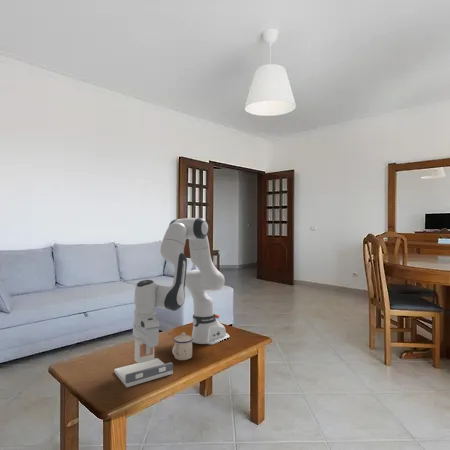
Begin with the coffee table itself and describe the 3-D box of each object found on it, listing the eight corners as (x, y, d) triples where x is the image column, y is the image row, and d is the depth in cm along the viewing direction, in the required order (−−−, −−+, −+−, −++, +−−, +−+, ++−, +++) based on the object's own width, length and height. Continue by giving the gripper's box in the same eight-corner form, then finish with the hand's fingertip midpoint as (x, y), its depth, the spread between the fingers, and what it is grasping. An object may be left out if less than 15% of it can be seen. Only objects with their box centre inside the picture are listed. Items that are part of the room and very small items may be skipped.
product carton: (150, 356, 139) (150, 335, 139) (154, 359, 135) (154, 338, 135) (134, 359, 135) (134, 338, 135) (138, 363, 131) (138, 341, 131)
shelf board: (157, 361, 149) (157, 351, 149) (173, 374, 135) (173, 363, 135) (114, 372, 137) (114, 362, 137) (126, 387, 124) (127, 376, 124)
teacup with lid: (182, 351, 160) (182, 328, 160) (196, 355, 155) (196, 331, 155) (165, 359, 150) (165, 335, 150) (180, 364, 145) (180, 339, 145)
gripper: (129, 314, 142) (129, 345, 142) (146, 325, 125) (146, 360, 125) (142, 312, 146) (142, 342, 145) (161, 323, 129) (161, 357, 129)
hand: (144, 351), depth 135 cm, fingers closed on product carton, 5 cm apart
